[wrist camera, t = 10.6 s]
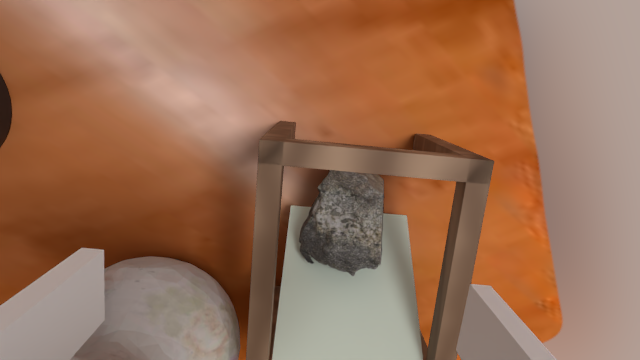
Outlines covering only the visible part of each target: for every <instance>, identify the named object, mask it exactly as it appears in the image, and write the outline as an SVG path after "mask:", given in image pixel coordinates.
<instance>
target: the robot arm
mask: <svg viewBox="0 0 640 360" xmlns="http://www.w3.org/2000/svg"><path fill="white" fill-rule="evenodd" d="M10 123H11V102H10V97H9V93H8V90H7V87H6V84H5V82H4V80H3V78H2V76H1V74H0V146H1V145H2V143H3V142H4V140H5V138H6V136H7V134H8V131H9V128H10ZM104 320H105V298H104V250H101V249H91V248H81V249H79V250H78V251H76V252H75V253H74V254H72V255H71V256H69V257H68V258H66V259H65V260H64V261H62V262H61V263H59V264H58V265H57V266H55V267H54V268H52V269H51V270H50V271H48V272H47V273H45V274H44V275H43V276H41V277H40V278H38V279H37V280H36V281H34V282H33V283H31V284H30V285H29V286H27V287H26V288H24V289H23V290H22V291H20V292H19V293H17V294H16V295H15V296H13V297H12V298H10V299H9V300H7V301H6V302H5V303H3V304H2V305H0V360H70V359H71V358H72V357H73V356H74V354H75V353H76V352H77V351H78V350H79V349H80V348H81V346H82V345H83V344H84V343H85V342H86V341H87V340H88V338H89V337H90V336H91V335H92V334H93V333H94V332H95V330H96V329H97V328H98V327H99V326H100V325H101V324H102V322H103V321H104ZM456 351H457V353H458V354H459V356H460V358H461V360H557V359H556V358H555V357H554V356H553V355H552V354H551V353H550V352H549V350H548V349H547V348H546V347H545V346H544V345H543V344H542V343H541V341H540V340H539V339H538V338H537V337H536V336H535V335H534V334H533V333H532V331H531V330H530V329H529V328H528V327H527V326H526V325H525V324H524V323H523V321H522V320H521V319H520V318H519V317H518V316H517V315H516V314H515V313H514V311H513V310H512V309H511V308H510V307H509V306H508V305H507V304H506V303H505V301H504V300H503V299H502V298H501V297H500V296H499V295H498V294H497V292H496V291H495V290H494V289H493V288H492V287H491V286H486V285H476V284H470V287H469V292H468V297H467V301H466V306H465V310H464V315H463V320H462V324H461V329H460V334H459V338H458V343H457V348H456Z"/></svg>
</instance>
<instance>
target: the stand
mask: <svg viewBox="0 0 640 360" xmlns="http://www.w3.org/2000/svg"><path fill="white" fill-rule="evenodd" d="M295 127H296V122H286V121H280V122H279V123H278V124H276V125H275V126H274V127H273V128H272V129H271V130H270V131H268V132H267V133H266V134H265V135H264V136H263V137H262V138H261V139H259V154H258V170H257V187H256V203H255V220H254V237H253V253H252V270H251V286H250V303H249V319H248V336H247V352H246V360H272V354H273V347H274V339H275V331H276V323H277V314H278V306H279V298H280V290H281V286H275V276H276V262H277V249H278V236H279V222H280V209H281V196H282V182H283V169H284V166H292V167H303V168H314V169H325V170H336V171H347V172H358V173H369V174H380V175H392V176H403V177H414V178H425V179H436V180H447V181H457V182H456V188H455V194H454V199H453V205H452V211H451V217H450V223H449V229H448V234H447V240H446V246H445V252H444V258H443V263H442V269H441V275H440V281H439V287H438V293H437V298H436V304H435V310H434V316H433V322H432V327H431V333H430V339H429V345H428V348H427V345H426V343H425V340H424V338H423V336H422V333H421V331H420V336H421V345H422V354H423V360H456V359H457V351H456V348H457V343H458V338H459V334H460V329H461V324H462V320H463V315H464V310H465V306H466V301H467V297H468V292H469V287H470V284H471V280H472V275H473V270H474V264H475V259H476V254H477V249H478V243H479V238H480V233H481V228H482V222H483V217H484V212H485V207H486V201H487V196H488V191H489V186H490V180H491V175H492V170H493V165H494V161H493V160H490V159H488V158H485V157H483V156H481V155H478V154H476V153H473V152H471V151H468V150H466V149H463V148H461V147H459V146H456V145H454V144H451V143H449V142H446V141H444V140H441V139H439V138H437V137H434V136H432V135H425V134H415V138H414V145H413V149H414V150H405V149H394V148H384V147H373V146H362V145H351V144H340V143H329V142H318V141H307V140H297V139H294V138H295Z"/></svg>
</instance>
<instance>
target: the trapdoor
mask: <svg viewBox="0 0 640 360" xmlns="http://www.w3.org/2000/svg"><path fill="white" fill-rule="evenodd" d="M310 209H311V207H305V206H293V205H291V208H290V216H289V224H288V232H287V241H286V249H285V257H284V265H283V273H282V282H281V290H280V298H279V306H278V314H277V323H276V331H275V339H274V347H273V355H272V360H423V354H422V345H421V336H420V327H419V319H418V310H417V301H416V293H415V284H414V275H413V267H412V258H411V249H410V240H409V232H408V223H407V215H396V214H385V213H383V227H382V228H383V232H382V255H381V256H382V257H381V259H382V260H381V265H379V264H380V263H379V264H378V267H377V268H376V269H375V270H374V269H368V268H365V269H364V268H363V269H360V270H358V271H357V272H356V273H355V275H354V276H351V274H349V273H348V272H342V271H338V270H337V269H335V268H334V269H333V268H331V267H330V266H328V264H327V265H323V264H321V263H319V262H318V261H316V260H315V259H314V258H312V257H311V256H310V255H309V256H310V257H311V259H312V261H313V262H314V263H313V264H310V263H308V262H307V261H306V259H305V257H303V255H302V253H301V252H300V246H301V243H300V242H299V237H300V231H301V228H302V225H303V223H304V222H305V220H306V219H307V217H308V215H309V211H310Z"/></svg>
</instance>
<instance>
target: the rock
mask: <svg viewBox="0 0 640 360" xmlns="http://www.w3.org/2000/svg"><path fill="white" fill-rule="evenodd" d="M318 190H319V192H320V193H319V195H318V196H317V198H316V199H315V202H314V203H313V205H312V207H311V209H310V211H309V215H308V217H307V219H306V220H305V222H304V223H303V225H302V228H301V231H300V237H299V242H300V243H301V246H300V252H301V253H302V255H303V257H305V259H306V261H307V262H308V263H310V264H313V263H314V262H313V261H312V259H311V257H312V258H314V259H315V260H316V261H318V262H319V263H321V264H323V265H327V264H328V266H330V267H331V268H333V269H334V268H335V269H337V270H338V271H342V272H348V273H349V274H351V276H354V275H355V273H356V272H357V271H358V270H360V269H363V268H364V269H365V268H368V269H374V270H375V269H376V268H377V267H378V264H379V263H380V264H379V265H381V260H382V259H381V257H382V256H381V255H382V232H383V228H382V227H383V209H384V207H383V205H384V204H383V200H384V180H383V179H382V178H381V177H380V176H379V175H377V174H369V173H358V172H347V171H336V170H330V171H329V173H328V175H327V176H326V178H324V179H323V181H322V183H321V184H320V185H319V186H318ZM309 255H310V256H311V257H310V256H309Z"/></svg>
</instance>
